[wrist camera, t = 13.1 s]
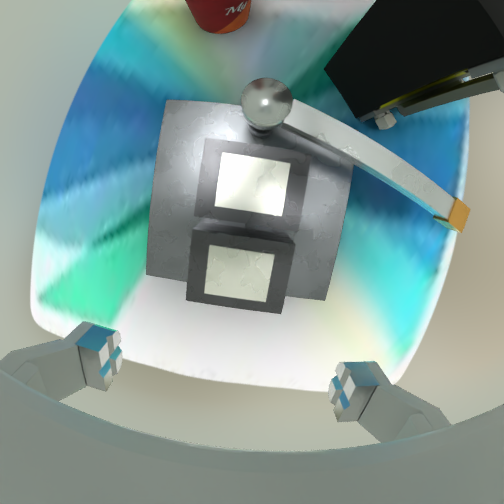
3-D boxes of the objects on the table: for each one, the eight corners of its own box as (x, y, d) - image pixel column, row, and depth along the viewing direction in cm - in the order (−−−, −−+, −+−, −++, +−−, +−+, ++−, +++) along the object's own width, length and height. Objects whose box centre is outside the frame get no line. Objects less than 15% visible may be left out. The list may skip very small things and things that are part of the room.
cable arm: (234, 120, 17) (232, 112, 15) (252, 82, 17) (253, 71, 14) (444, 233, 19) (459, 238, 17) (456, 200, 19) (472, 203, 17)
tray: (171, 103, 23) (149, 83, 17) (352, 132, 24) (382, 121, 18) (150, 269, 27) (126, 294, 21) (321, 294, 28) (339, 324, 22)
